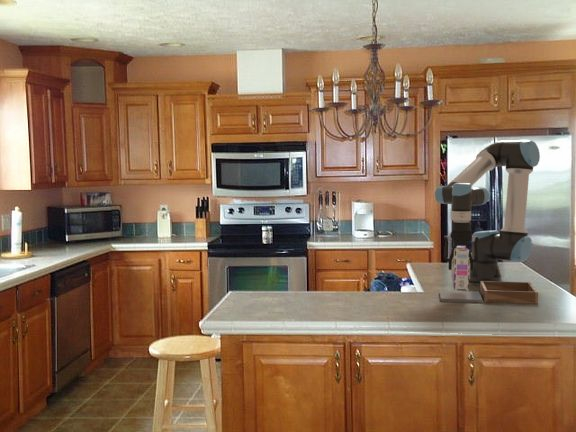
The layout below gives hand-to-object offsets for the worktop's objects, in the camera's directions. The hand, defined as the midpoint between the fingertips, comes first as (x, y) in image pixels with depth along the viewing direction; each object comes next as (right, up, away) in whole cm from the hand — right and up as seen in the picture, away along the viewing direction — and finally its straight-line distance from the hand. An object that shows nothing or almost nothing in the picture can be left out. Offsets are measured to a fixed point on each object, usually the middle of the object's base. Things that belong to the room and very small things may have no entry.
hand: (460, 277), depth 264 cm
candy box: (0, -4, 0) cm, 4 cm away
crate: (+20, -8, +1) cm, 21 cm away
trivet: (0, -8, +1) cm, 8 cm away
